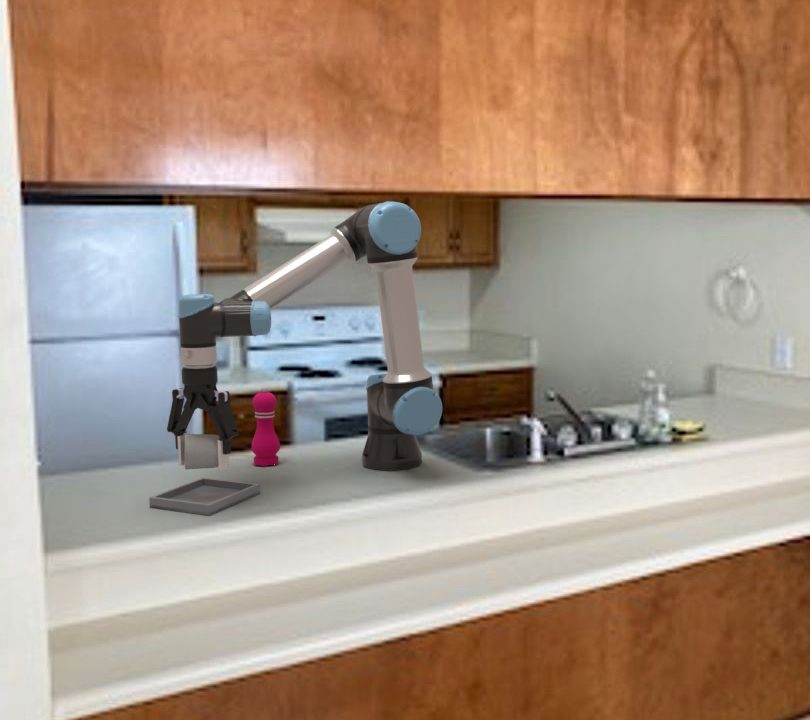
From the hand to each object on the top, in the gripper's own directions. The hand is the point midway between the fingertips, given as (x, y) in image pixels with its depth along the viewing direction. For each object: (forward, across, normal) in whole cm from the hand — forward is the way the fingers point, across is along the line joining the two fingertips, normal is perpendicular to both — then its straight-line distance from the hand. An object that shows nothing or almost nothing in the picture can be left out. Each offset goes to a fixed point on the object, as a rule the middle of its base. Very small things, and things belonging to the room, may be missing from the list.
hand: (203, 466), depth 200 cm
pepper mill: (+8, -7, +33) cm, 35 cm away
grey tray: (+8, 0, 0) cm, 8 cm away
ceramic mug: (0, -1, +1) cm, 1 cm away
